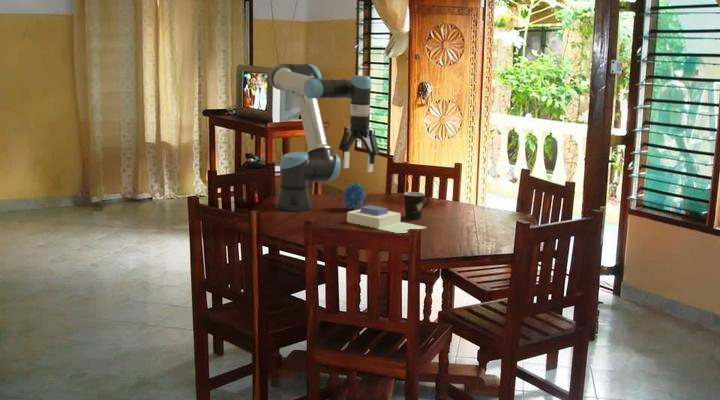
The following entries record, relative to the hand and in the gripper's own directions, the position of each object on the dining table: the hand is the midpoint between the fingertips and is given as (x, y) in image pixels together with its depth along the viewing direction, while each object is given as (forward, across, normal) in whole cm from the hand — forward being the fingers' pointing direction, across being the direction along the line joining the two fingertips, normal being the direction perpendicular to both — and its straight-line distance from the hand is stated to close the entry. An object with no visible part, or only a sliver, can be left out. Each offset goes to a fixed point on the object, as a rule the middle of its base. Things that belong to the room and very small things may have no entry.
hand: (358, 169), depth 308 cm
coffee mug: (+20, +16, +20) cm, 33 cm away
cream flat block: (+20, +9, 0) cm, 22 cm away
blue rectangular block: (+16, +9, 0) cm, 18 cm away
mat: (+20, +23, 0) cm, 30 cm away
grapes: (+20, -12, +14) cm, 27 cm away
